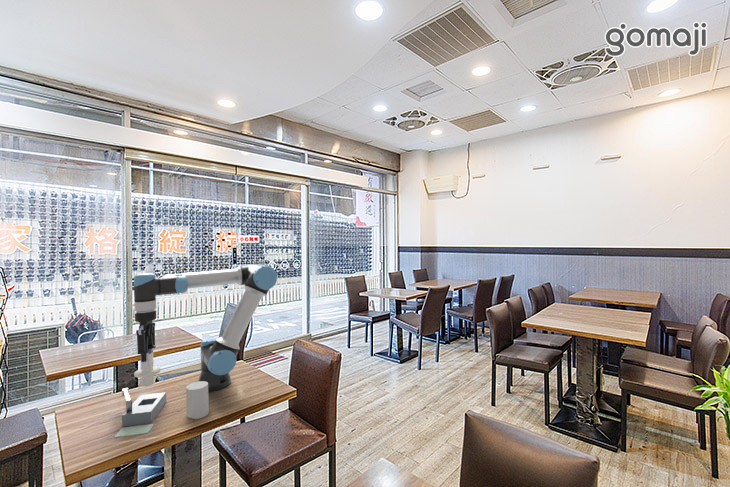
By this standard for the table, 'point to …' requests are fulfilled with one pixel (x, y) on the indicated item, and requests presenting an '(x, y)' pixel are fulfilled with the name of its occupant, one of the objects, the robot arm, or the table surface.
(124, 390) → the record player tonearm
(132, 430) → the mat
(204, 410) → the cup
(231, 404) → the table surface
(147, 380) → the plug
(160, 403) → the socket block
